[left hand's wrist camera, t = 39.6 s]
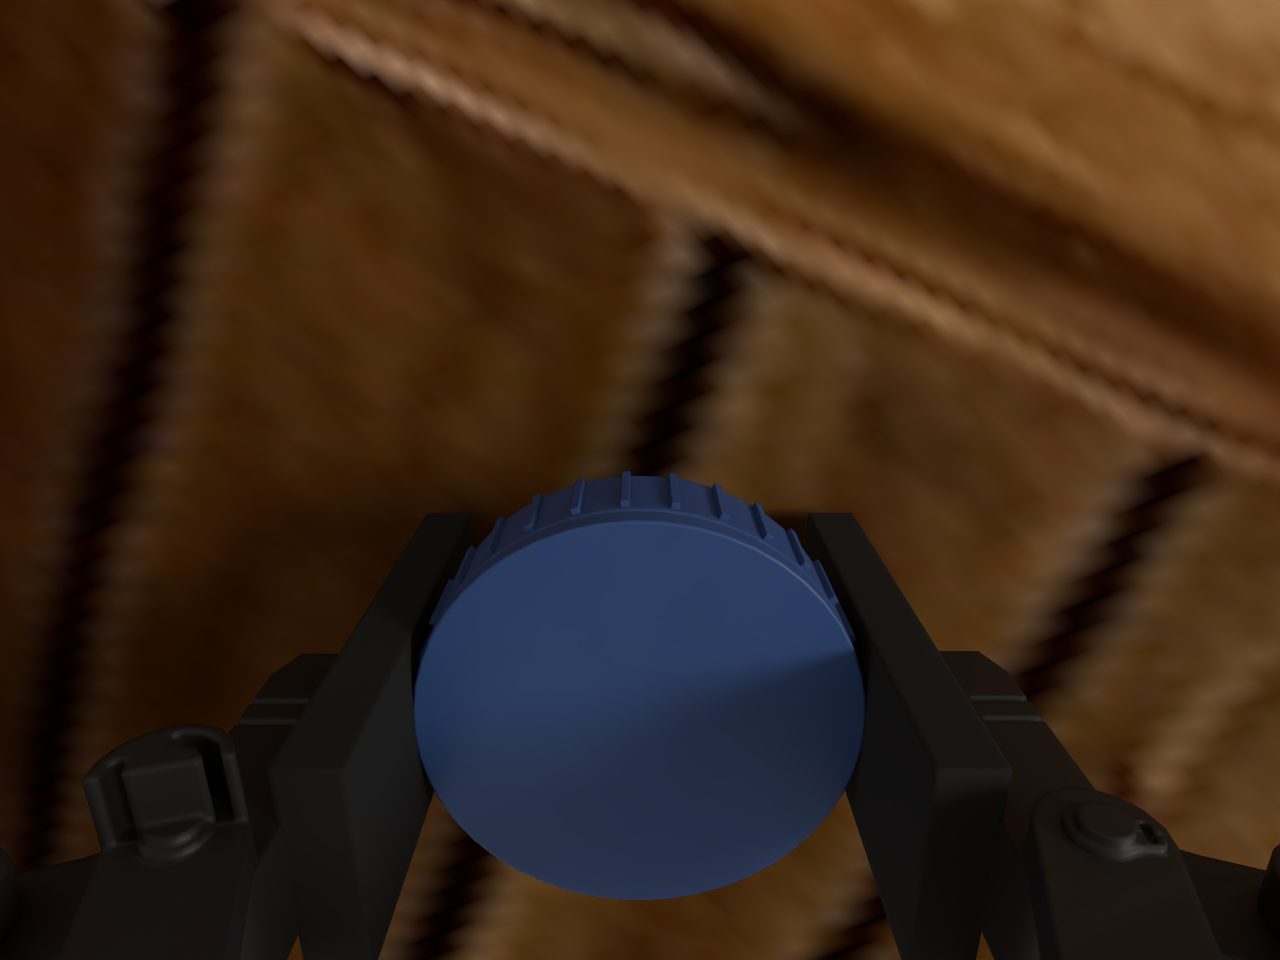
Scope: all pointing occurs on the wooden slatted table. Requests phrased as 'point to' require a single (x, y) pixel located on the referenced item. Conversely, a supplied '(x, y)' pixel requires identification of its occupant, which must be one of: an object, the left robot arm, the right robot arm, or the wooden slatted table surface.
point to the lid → (639, 690)
